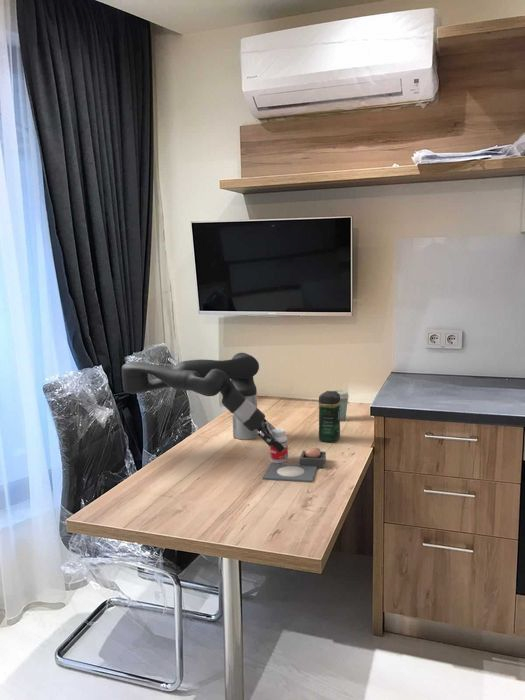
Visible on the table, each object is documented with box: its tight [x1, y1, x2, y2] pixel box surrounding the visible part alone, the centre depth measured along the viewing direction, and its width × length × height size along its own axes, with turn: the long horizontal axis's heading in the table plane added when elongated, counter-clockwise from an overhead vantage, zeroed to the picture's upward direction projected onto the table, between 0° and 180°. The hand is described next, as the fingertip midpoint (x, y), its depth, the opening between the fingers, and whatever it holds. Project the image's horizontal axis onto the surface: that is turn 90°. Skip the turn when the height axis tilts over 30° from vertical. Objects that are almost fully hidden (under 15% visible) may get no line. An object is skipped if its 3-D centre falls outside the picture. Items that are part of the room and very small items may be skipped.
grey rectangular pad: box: [262, 462, 318, 483], centre depth 192 cm, size 16×13×1 cm
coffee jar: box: [318, 390, 341, 443], centre depth 225 cm, size 10×8×19 cm
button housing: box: [298, 450, 327, 469], centre depth 200 cm, size 8×8×3 cm
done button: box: [304, 446, 321, 458], centre depth 200 cm, size 5×5×2 cm
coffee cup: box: [334, 389, 349, 422], centre depth 251 cm, size 8×9×12 cm
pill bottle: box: [269, 427, 289, 464], centre depth 203 cm, size 6×6×11 cm
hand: (282, 446), depth 203 cm, fingers open, 8 cm apart
